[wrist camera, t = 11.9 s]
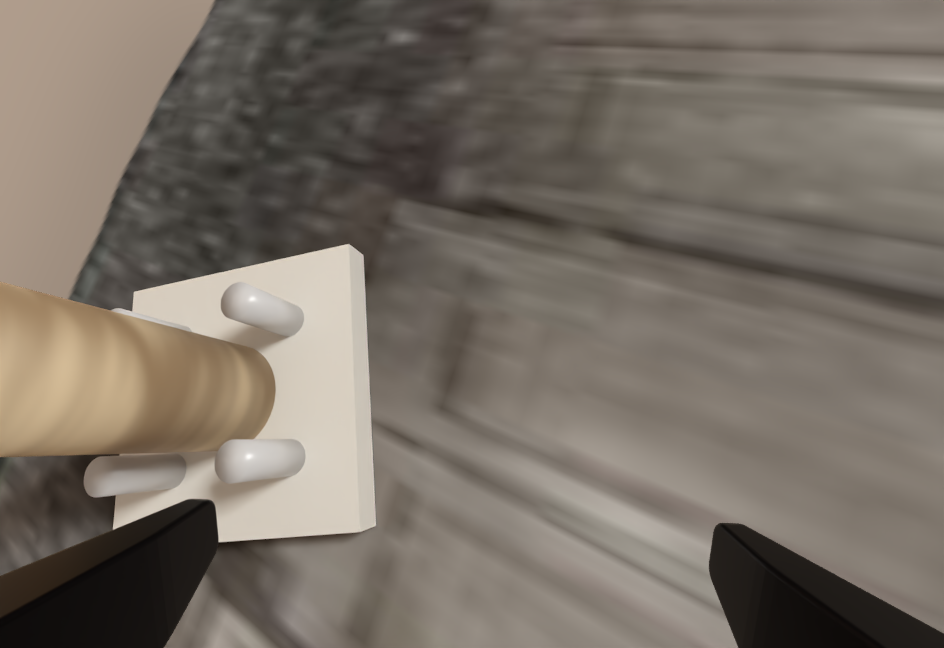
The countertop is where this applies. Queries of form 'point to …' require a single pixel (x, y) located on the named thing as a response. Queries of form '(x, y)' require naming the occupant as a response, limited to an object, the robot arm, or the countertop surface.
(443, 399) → the countertop surface
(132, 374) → the maple post
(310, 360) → the pin plate
